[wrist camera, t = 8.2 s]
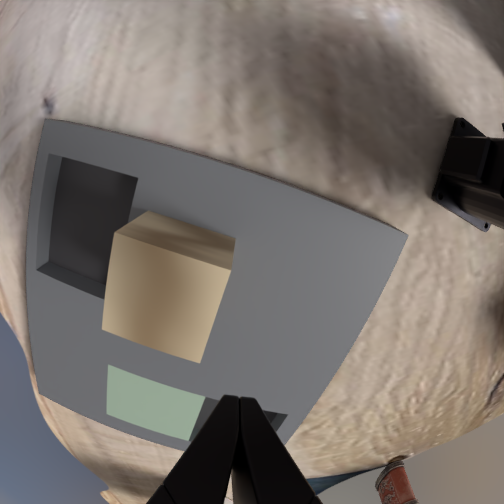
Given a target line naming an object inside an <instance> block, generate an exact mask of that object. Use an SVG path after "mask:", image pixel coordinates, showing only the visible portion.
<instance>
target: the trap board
mask: <svg viewBox="0 0 504 504" xmlns="http://www.w3.org/2000/svg"><path fill="white" fill-rule="evenodd" d="M147 211H151V212H154V213H158V214H161V215H164V216H167V217H170V218H173V219H176V220H180V221H183V222H186V223H189V224H192V225H195V226H198V227H201V228H204V229H208V230H211V231H214V232H217V233H220V234H223V235H226V236H229V237H232V238H235V239H236V241H235V248H234V255H233V262H232V269H231V273H230V276H229V279H228V282H227V284H226V287H225V290H224V293H223V296H222V299H221V302H220V305H219V308H218V311H217V314H216V317H215V320H214V323H213V326H212V329H211V332H210V335H209V338H208V341H207V344H206V347H205V350H204V353H203V356H202V359H201V362H200V363H197V362H193V361H190V360H187V359H183V358H180V357H177V356H174V355H171V354H168V353H165V352H162V351H159V350H156V349H153V348H150V347H147V346H144V345H141V344H139V343H136V342H133V341H130V340H128V339H125V338H122V337H120V336H117V335H115V334H112V333H110V332H107V331H105V330H102V321H103V310H104V300H105V291H106V283H107V276H108V269H109V262H110V256H111V249H112V244H113V238H114V232H116V231H117V230H119V229H120V228H122V227H123V226H125V225H126V224H128V223H129V222H131V221H132V220H134V219H136V218H137V217H139V216H140V215H142V214H144V213H145V212H147ZM407 238H408V235H407V234H406V233H404V232H402V231H401V230H399V229H397V228H396V227H394V226H391V225H389V224H387V223H385V222H382V221H380V220H378V219H375V218H373V217H371V216H369V215H366V214H364V213H361V212H359V211H357V210H354V209H352V208H349V207H347V206H345V205H342V204H340V203H337V202H335V201H332V200H330V199H327V198H325V197H322V196H319V195H317V194H314V193H312V192H309V191H306V190H304V189H301V188H298V187H296V186H293V185H290V184H287V183H285V182H282V181H279V180H276V179H274V178H271V177H268V176H265V175H262V174H259V173H256V172H253V171H250V170H247V169H244V168H241V167H238V166H235V165H232V164H229V163H226V162H223V161H220V160H216V159H213V158H210V157H207V156H203V155H200V154H197V153H193V152H190V151H187V150H183V149H180V148H176V147H173V146H169V145H165V144H162V143H158V142H154V141H151V140H147V139H143V138H139V137H135V136H131V135H127V134H123V133H119V132H114V131H110V130H106V129H101V128H97V127H92V126H88V125H83V124H78V123H73V122H68V121H63V120H53V119H45V122H44V126H43V130H42V134H41V139H40V143H39V148H38V153H37V158H36V163H35V169H34V175H33V181H32V188H31V196H30V205H29V215H28V227H27V245H26V294H27V312H28V324H29V334H30V343H31V350H32V357H33V364H34V370H35V375H36V381H37V386H38V390H39V394H41V395H43V396H45V397H47V398H48V399H50V400H52V401H54V402H56V403H58V404H60V405H62V406H64V407H66V408H68V409H70V410H72V411H74V412H76V413H79V414H81V415H83V416H85V417H87V418H90V419H92V420H94V421H97V422H99V423H101V424H104V425H106V426H109V427H111V428H114V429H117V430H119V431H122V432H125V433H127V434H130V435H133V436H136V437H139V438H142V439H145V440H148V441H151V442H154V443H157V444H161V445H164V446H167V447H171V448H174V449H178V450H182V451H185V450H186V449H187V448H188V446H189V445H190V443H191V442H192V440H193V439H194V438H195V436H196V435H197V433H198V432H199V430H200V429H201V427H202V426H203V424H204V423H205V421H206V420H207V418H208V417H209V415H210V414H211V412H212V411H213V409H214V408H215V406H216V405H217V403H218V402H219V400H220V399H221V397H222V396H223V395H224V394H227V395H235V396H238V397H239V398H240V397H241V396H244V397H253V398H255V399H256V400H257V401H258V403H259V405H260V406H261V408H262V410H263V411H264V413H265V415H266V417H267V418H268V420H269V422H270V423H271V425H272V427H273V428H274V430H275V431H276V433H277V435H278V436H279V438H280V440H281V441H282V443H283V444H284V445H285V444H286V443H287V441H288V440H289V439H290V438H291V436H292V435H293V434H294V432H295V431H296V430H297V428H298V427H299V426H300V424H301V423H302V422H303V420H304V419H305V418H306V416H307V415H308V413H309V412H310V411H311V409H312V408H313V406H314V405H315V403H316V402H317V401H318V399H319V398H320V396H321V395H322V393H323V392H324V390H325V389H326V387H327V386H328V384H329V383H330V381H331V380H332V378H333V377H334V375H335V373H336V372H337V370H338V369H339V367H340V366H341V364H342V362H343V361H344V359H345V357H346V356H347V354H348V353H349V351H350V349H351V348H352V346H353V344H354V342H355V341H356V339H357V337H358V336H359V334H360V332H361V330H362V329H363V327H364V325H365V323H366V321H367V320H368V318H369V316H370V314H371V312H372V310H373V308H374V307H375V305H376V303H377V301H378V299H379V297H380V295H381V293H382V291H383V289H384V287H385V285H386V283H387V281H388V279H389V277H390V275H391V273H392V271H393V269H394V267H395V264H396V262H397V260H398V258H399V256H400V254H401V251H402V249H403V247H404V245H405V242H406V240H407Z"/></svg>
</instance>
